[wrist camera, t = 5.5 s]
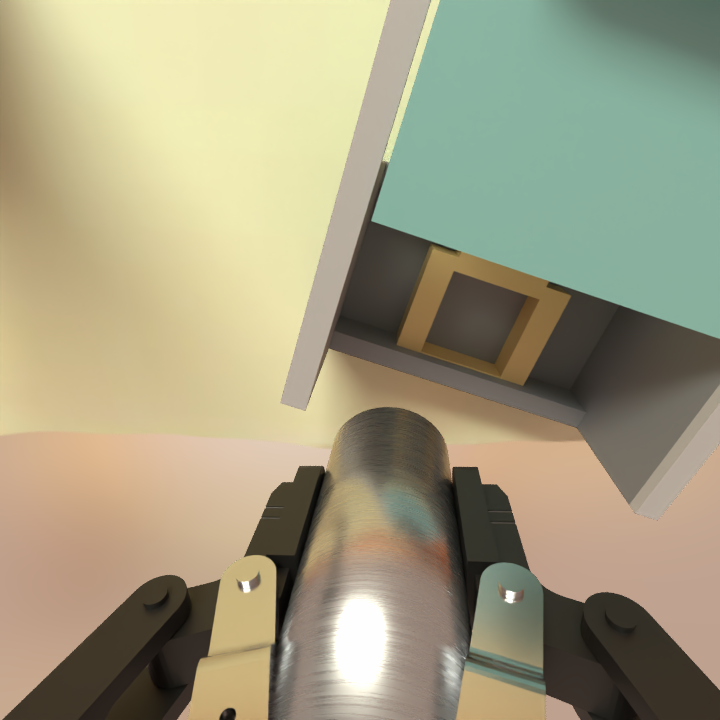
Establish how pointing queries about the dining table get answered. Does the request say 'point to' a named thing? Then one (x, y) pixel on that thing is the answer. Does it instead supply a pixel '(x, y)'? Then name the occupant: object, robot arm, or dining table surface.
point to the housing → (502, 322)
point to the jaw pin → (378, 583)
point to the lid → (571, 147)
